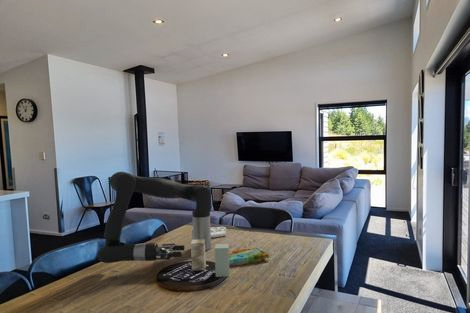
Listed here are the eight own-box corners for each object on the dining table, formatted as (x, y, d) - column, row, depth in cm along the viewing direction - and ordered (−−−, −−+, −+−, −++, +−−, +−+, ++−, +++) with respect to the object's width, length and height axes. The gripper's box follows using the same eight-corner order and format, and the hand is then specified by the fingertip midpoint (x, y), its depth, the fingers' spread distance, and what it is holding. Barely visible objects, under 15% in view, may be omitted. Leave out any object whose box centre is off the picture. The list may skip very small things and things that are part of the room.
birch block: (191, 270, 147) (190, 243, 147) (193, 266, 153) (192, 239, 152) (204, 270, 147) (203, 243, 147) (205, 265, 153) (204, 239, 152)
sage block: (215, 277, 140) (214, 248, 139) (216, 272, 145) (215, 244, 144) (229, 276, 140) (228, 248, 139) (229, 271, 145) (228, 243, 144)
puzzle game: (219, 251, 161) (258, 245, 167) (219, 260, 161) (258, 254, 168) (227, 259, 150) (268, 252, 156) (227, 269, 150) (269, 262, 156)
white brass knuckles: (201, 240, 194) (194, 234, 208) (231, 236, 201) (222, 230, 215) (201, 235, 194) (194, 229, 208) (230, 230, 201) (222, 225, 214)
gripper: (141, 248, 142) (180, 247, 142) (149, 238, 156) (185, 237, 156) (142, 266, 143) (180, 265, 143) (150, 254, 157) (185, 253, 157)
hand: (183, 250), depth 150 cm, fingers open, 8 cm apart
